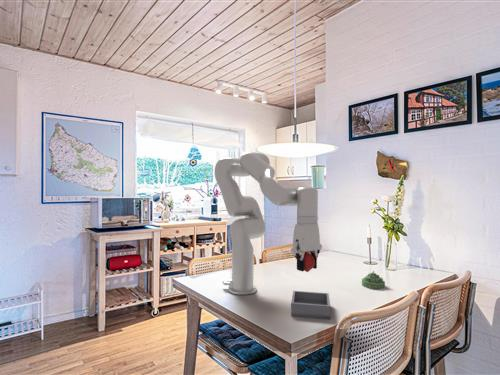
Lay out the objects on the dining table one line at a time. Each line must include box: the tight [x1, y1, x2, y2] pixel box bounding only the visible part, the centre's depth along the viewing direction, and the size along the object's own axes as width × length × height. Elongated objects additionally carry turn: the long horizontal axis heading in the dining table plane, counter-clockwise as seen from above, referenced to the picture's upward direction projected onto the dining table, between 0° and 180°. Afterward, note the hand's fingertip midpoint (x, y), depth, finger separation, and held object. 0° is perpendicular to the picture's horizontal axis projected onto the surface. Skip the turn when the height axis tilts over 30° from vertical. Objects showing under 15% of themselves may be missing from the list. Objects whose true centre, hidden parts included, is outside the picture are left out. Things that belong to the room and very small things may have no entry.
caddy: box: [290, 290, 332, 320], centre depth 116 cm, size 14×14×4 cm
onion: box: [303, 252, 315, 273], centre depth 115 cm, size 6×6×8 cm
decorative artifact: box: [361, 270, 386, 290], centre depth 146 cm, size 10×7×10 cm
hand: (306, 268), depth 115 cm, fingers closed on onion, 5 cm apart
